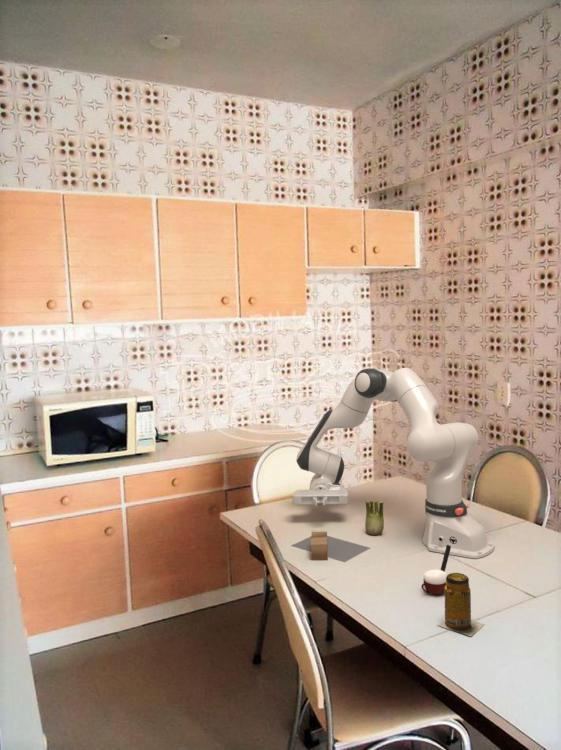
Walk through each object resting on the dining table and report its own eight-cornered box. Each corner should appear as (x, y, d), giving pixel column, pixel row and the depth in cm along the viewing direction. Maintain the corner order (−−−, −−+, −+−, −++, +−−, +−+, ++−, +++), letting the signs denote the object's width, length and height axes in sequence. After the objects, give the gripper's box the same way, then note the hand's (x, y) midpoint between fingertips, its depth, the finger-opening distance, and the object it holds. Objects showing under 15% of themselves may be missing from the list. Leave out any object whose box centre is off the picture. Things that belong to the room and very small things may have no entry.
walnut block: (311, 530, 198) (310, 544, 186) (326, 530, 198) (327, 544, 186) (312, 545, 198) (311, 560, 186) (327, 545, 198) (327, 560, 186)
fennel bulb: (385, 534, 206) (384, 500, 205) (378, 539, 203) (377, 504, 201) (370, 531, 210) (369, 497, 209) (363, 535, 206) (362, 501, 205)
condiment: (452, 614, 151) (451, 568, 150) (484, 625, 145) (484, 577, 144) (437, 626, 146) (436, 578, 144) (470, 637, 140) (470, 588, 139)
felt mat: (370, 549, 194) (370, 547, 194) (344, 563, 184) (344, 562, 184) (318, 534, 209) (317, 533, 209) (291, 546, 199) (291, 545, 199)
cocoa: (423, 599, 160) (421, 557, 158) (417, 588, 166) (414, 547, 164) (458, 596, 160) (456, 553, 159) (451, 584, 166) (449, 543, 165)
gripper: (292, 484, 226) (290, 495, 212) (347, 483, 224) (348, 495, 210) (293, 500, 227) (290, 513, 213) (348, 500, 225) (349, 512, 211)
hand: (320, 504), depth 212 cm, fingers closed
